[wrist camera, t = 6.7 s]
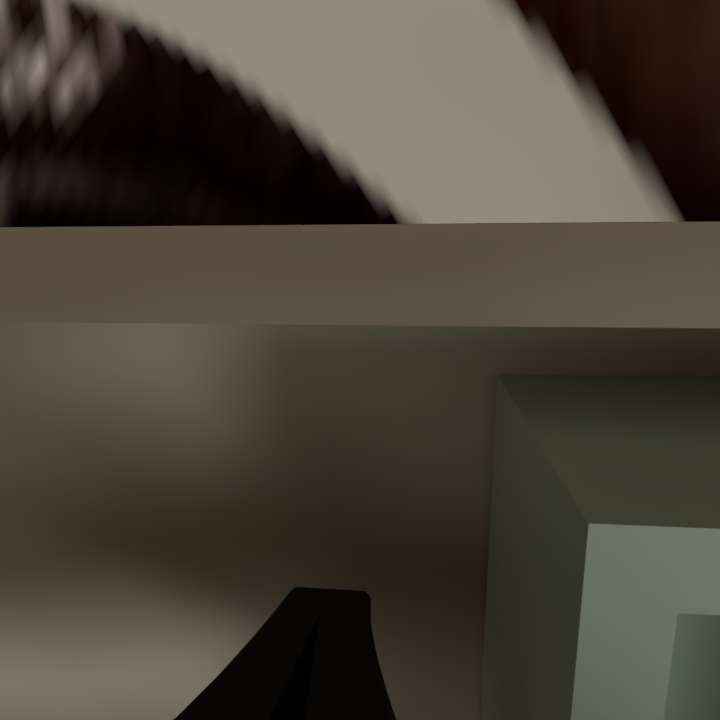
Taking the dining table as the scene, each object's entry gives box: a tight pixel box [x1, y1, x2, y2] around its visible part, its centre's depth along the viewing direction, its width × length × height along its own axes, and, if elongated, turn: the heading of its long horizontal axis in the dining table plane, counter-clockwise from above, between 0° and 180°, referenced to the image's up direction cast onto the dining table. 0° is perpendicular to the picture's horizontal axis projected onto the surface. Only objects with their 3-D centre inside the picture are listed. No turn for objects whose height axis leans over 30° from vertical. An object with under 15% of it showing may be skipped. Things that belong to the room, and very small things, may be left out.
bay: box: [0, 222, 720, 720], centre depth 10 cm, size 14×22×4 cm, turn 90°
